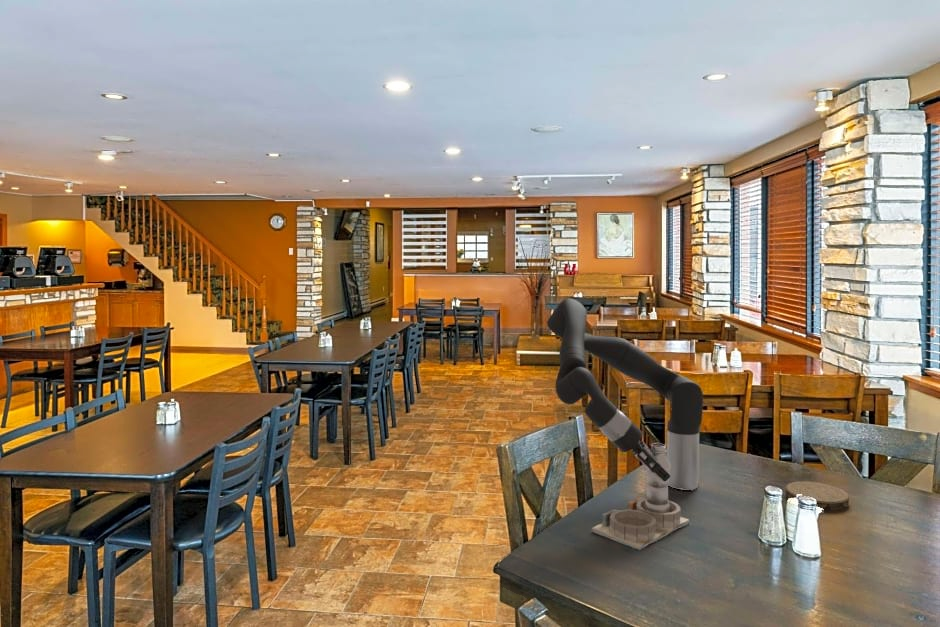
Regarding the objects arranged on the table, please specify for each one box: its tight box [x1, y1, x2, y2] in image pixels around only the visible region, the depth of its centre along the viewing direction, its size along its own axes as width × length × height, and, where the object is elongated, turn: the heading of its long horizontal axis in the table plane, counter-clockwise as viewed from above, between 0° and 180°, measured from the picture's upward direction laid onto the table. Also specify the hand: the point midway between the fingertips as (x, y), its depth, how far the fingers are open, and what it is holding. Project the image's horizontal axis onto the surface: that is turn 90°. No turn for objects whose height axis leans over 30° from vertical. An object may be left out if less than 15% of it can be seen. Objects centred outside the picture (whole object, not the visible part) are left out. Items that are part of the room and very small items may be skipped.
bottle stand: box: [591, 497, 690, 548], centre depth 166 cm, size 23×14×5 cm, turn 131°
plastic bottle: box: [645, 442, 671, 513], centre depth 168 cm, size 6×7×20 cm
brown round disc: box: [785, 481, 850, 512], centre depth 184 cm, size 16×16×3 cm
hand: (663, 473), depth 168 cm, fingers open, 8 cm apart
